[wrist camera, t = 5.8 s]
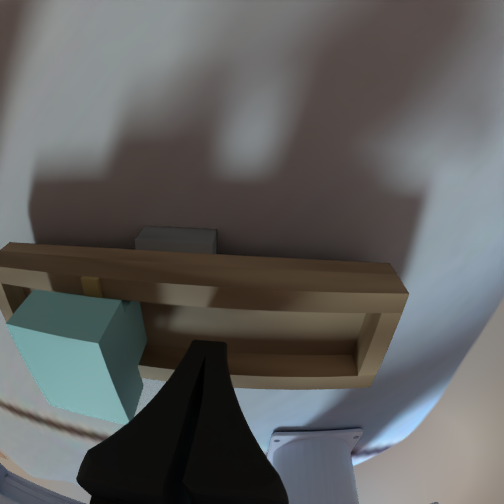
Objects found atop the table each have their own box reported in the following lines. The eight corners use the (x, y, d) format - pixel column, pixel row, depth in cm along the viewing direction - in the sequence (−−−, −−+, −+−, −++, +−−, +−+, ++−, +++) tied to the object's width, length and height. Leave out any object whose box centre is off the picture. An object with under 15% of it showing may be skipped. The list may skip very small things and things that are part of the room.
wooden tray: (352, 342, 19) (368, 395, 15) (50, 317, 18) (21, 359, 15) (382, 239, 15) (414, 286, 12) (22, 223, 15) (-22, 257, 11)
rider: (153, 354, 16) (131, 425, 12) (82, 343, 16) (50, 405, 12) (138, 270, 13) (98, 343, 9) (57, 263, 13) (5, 323, 9)
